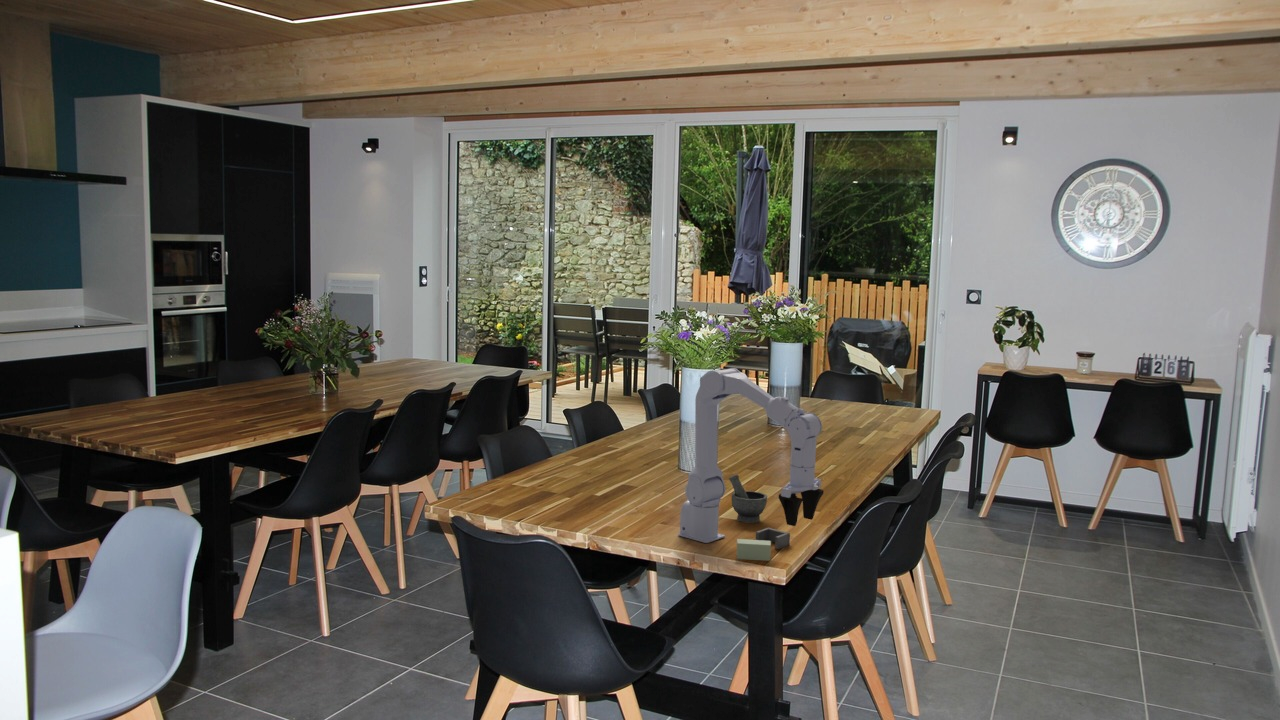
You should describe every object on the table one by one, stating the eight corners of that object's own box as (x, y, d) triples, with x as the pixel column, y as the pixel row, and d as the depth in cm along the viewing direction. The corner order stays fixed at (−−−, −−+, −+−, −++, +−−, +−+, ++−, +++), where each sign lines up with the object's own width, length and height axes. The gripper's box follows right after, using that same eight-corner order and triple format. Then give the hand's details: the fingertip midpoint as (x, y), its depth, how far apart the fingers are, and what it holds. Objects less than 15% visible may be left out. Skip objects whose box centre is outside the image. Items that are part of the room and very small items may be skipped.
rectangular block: (736, 559, 225) (737, 543, 224) (736, 554, 228) (737, 538, 228) (770, 561, 224) (771, 545, 224) (769, 556, 228) (770, 540, 227)
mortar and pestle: (771, 519, 260) (774, 476, 258) (757, 526, 252) (759, 483, 251) (735, 512, 266) (737, 470, 264) (720, 519, 258) (721, 476, 256)
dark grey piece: (755, 543, 237) (755, 531, 237) (767, 538, 241) (767, 527, 241) (777, 549, 233) (778, 537, 233) (789, 544, 237) (790, 533, 237)
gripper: (801, 473, 212) (798, 531, 214) (833, 463, 223) (830, 519, 225) (774, 467, 217) (772, 525, 218) (807, 458, 228) (804, 513, 229)
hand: (799, 521), depth 222 cm, fingers open, 7 cm apart
